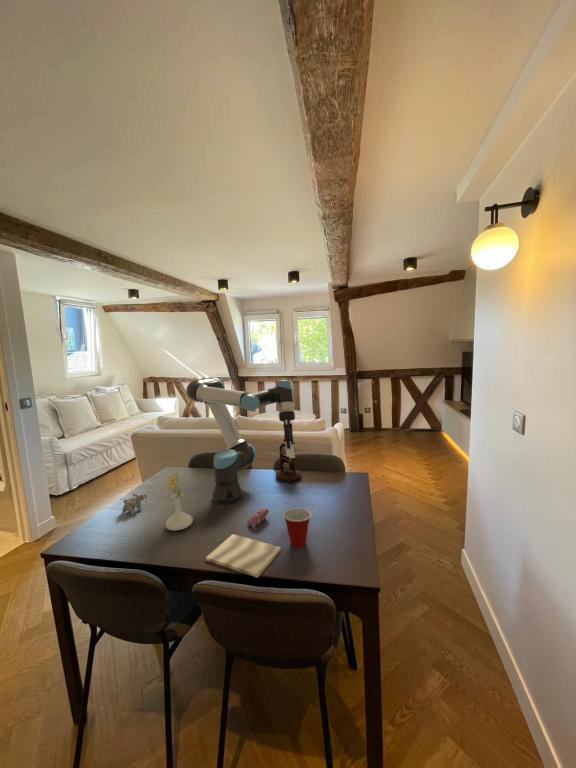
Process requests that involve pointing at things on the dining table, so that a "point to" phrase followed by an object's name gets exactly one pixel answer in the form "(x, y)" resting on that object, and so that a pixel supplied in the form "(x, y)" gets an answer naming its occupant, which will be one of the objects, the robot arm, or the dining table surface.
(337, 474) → the dining table surface
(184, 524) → the flower in vase
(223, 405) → the robot arm
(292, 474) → the brown wooden upright piece
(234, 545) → the birch board
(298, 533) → the plastic cup
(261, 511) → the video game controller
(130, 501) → the elephant statuette
